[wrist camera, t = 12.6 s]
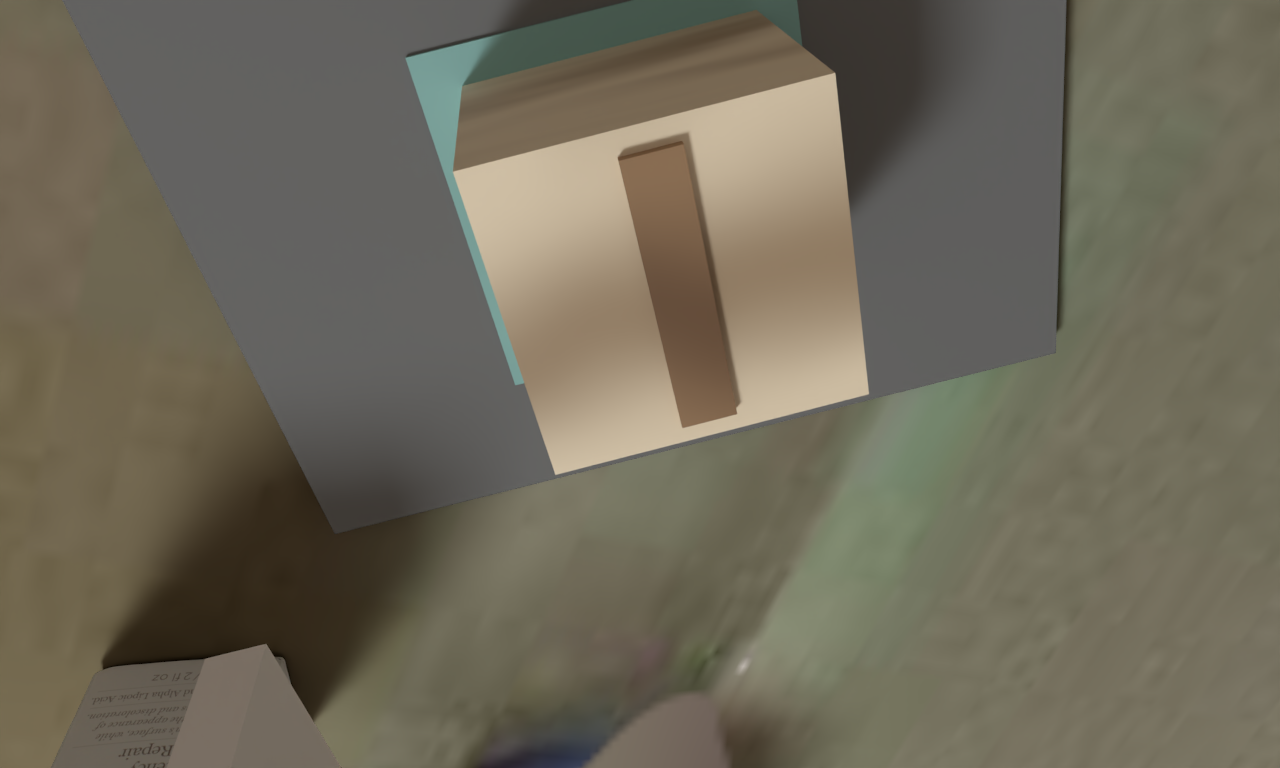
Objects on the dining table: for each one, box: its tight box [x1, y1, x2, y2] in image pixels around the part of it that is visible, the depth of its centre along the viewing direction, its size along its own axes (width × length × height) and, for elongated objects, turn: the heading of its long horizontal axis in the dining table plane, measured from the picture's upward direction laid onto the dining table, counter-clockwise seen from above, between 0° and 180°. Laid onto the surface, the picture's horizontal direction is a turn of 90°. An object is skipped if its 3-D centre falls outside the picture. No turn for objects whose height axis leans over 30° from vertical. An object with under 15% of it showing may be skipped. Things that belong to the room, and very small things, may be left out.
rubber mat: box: [63, 0, 1066, 534], centre depth 24 cm, size 22×16×1 cm
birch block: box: [453, 10, 869, 475], centre depth 21 cm, size 7×7×6 cm
